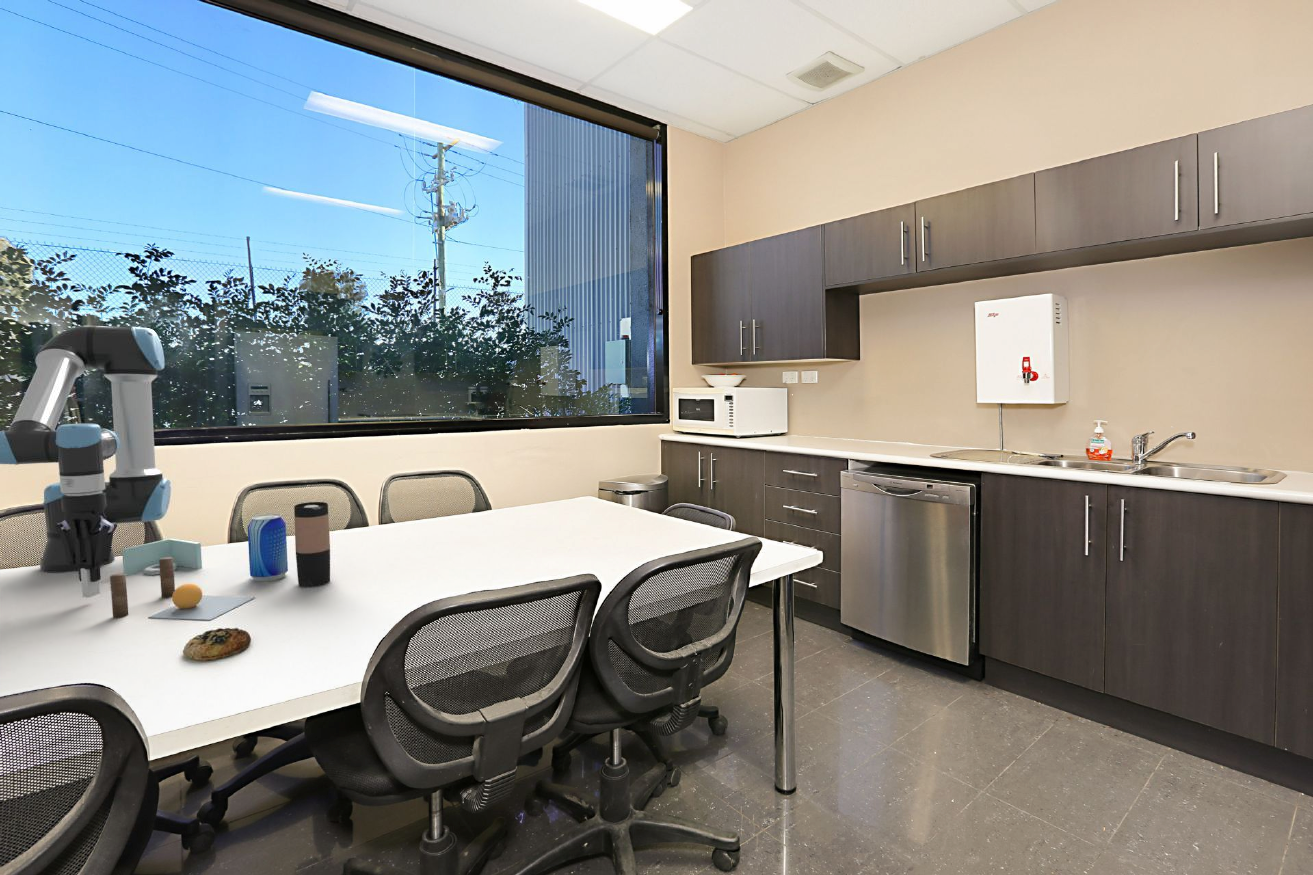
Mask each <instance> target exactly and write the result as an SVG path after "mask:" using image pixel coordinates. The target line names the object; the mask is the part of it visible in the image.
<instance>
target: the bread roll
mask: <svg viewBox="0 0 1313 875" xmlns="http://www.w3.org/2000/svg"><path fill="white" fill-rule="evenodd" d="M251 641H252V638H251V635H250V633H249V632H248V631H246V630H244V629H240V628H238V627H233V628H232V627H231V628H230V627H225V628H222V627H219V628H216V629H210V630H207V631H204V632H203V633H202V634H198V635H196V636H194V637H192V638H190V639H189V640H188V642H187V643H186V644H185V646H184V648H183V650H182V653H183V654H182V655H183V656H185V657H186V659H189V660H193V661H194V660H197V661H201V662H208V661H209V662H210V661H217V660H220V659H225V658H228V657H231V656H234V655H237V654H240V653H241V652H243V651H244V650H246V649H247V648H249V646H250V644H251Z"/></svg>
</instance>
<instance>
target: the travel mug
mask: <svg viewBox="0 0 1313 875" xmlns="http://www.w3.org/2000/svg"><path fill="white" fill-rule="evenodd" d="M293 509H294V512H293V513H294V538H295V539H294V540H295V544H294V545H295V558H296V559H295V560H296V572H297V584H298V587H301V588H316V587H321V585H322V586H325V585H328V584H329V583H330V582H331V537H330V523H329V522H330V520H329V519H330V518H329V504H328V503H327V502H325V501H312V502H311V501H310V502H308V501H307V502H303V503H301V502H300V503H298V504H295V505H294V506H293ZM328 582H329V583H328Z"/></svg>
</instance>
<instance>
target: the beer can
mask: <svg viewBox="0 0 1313 875" xmlns="http://www.w3.org/2000/svg"><path fill="white" fill-rule="evenodd" d="M286 524H287V523H286V522H285V520H284V519H283V517H282V515H281V514H280V513H266V514H258V515H255V516H252V517H251V520H250V522H249V524H248V525H247V540H248V541H247V542H248V562H249V563H248V564H249V576H250V577H251V578H252V579H253V580H254V582H272V581H276V580H280V579H282V577H283V578H284V577H285V576H286V574H287V572H288V570H289V568H288V567H289V564H288V546H287V525H286Z"/></svg>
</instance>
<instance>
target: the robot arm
mask: <svg viewBox="0 0 1313 875" xmlns="http://www.w3.org/2000/svg"><path fill="white" fill-rule="evenodd" d="M35 364H36V367H37V368H36V369H35V372H34V374H33V376H32V379H31V381H30V382H29V385H28V388H27V389H26V392H25V394H24V396H23V398H22V400H21V401H20V402H21V403H20V405H19V407H18V409H17V411H16V414H15V416H14V417H13V420H12V423H11V424H10V425H9V428H8V430H4V429H3V430H1V431H0V465H15V466H17V465H18V466H19V465H28V464H46V463H47V464H50V463H51V464H53V463H56V464H57V463H58V471H59V472H58V473H59V474H58V475H59V482H56V483H52V484H50V485H48V486H46V487H45V488H44V490H43V501H42V502H43V503H42V504H43V505H44V506H43V507H44V518H45V530H46V544H45V546H44V549H43V553H42V557H41V558H40V560H39V567H40V571H42V572H44V573H64V572H65V573H66V572H74V571H75V572H76V571H78V579H79V582H81V590H82V591H81V592H82V593H81V594H82V595H81V596H82V598H91V597H94V596H96V595H99V594H101V591H100V590H101V589H100V581H101V579H102V577H101V567H102V566H104V565H105V566H106V565H108V564H110V563H112V562H113V561H115V559H116V558H115V551H114V549H113V548H112V544H113V539H114V538H113V537H114V533H115V531H116V529H117V527H118V524H130V523H147V522H155V521H160V520H161V519H163V518H164V517H165V515H166V514H167V511H168V509H169V506H170V501H171V494H172V488H171V487H172V486H171V481H170V480H169V478H164V477H163V472H162V471H161V470H159V469H158V468H157V467H156V457H155V456H156V455H155V454H156V453H155V452H156V451H155V438H154V436H155V435H154V420H153V419H154V415H153V414H154V412H153V396H152V395H153V393H152V382H153V381H154V380H155V379H156V378H158V375H159V374H158V371H162V370H163V369H165V355H164V348H163V346H162V343H161V339H160V338H159V336H158V334H157V333H156V331H155V330H153V329H151V328H147V327H138V326H117V325H116V326H111V325H110V326H107V325H106V326H105V325H104V326H103V325H89V324H88V325H79V326H75V327H74V326H73V327H71V328H68V329H65V330H63V331H62V332H59V333H58V334H56V335H54V336H53V337H51V338H50V339H49V340H48V341H47V342H46V343H44V345H43V346H42V347H41V348H40V349H39V350H38V353H37V355H36V357H35ZM92 369H93V370H103V376H104V377H105V378H106V379H108V381H110V382H111V384H110V385H111V397H112V398H111V402H112V418H113V430H110V429H107V428H102V427H101V426H100V425H99V424H97V423H89V422H88V423H68V424H61V425H58V422H59V420H60V417H61V416H62V413H63V411H64V408H65V405H66V403H67V400H68V398H69V396H70V394H71V390H72V388H73V386H74V383H75V381H76V379H77V378H78V377H81V376H82V375H83V374H84V372H85V370H92ZM57 425H58V426H57ZM56 427H57V428H56ZM113 456H114V457H115V460H114V461H115V470H113V472H112V473H110V474H109V476H108V478H109V480H108V481H106V482H105V470H104V468H105V467H104V461H106V460H109V459H110V458H112V457H113Z"/></svg>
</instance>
